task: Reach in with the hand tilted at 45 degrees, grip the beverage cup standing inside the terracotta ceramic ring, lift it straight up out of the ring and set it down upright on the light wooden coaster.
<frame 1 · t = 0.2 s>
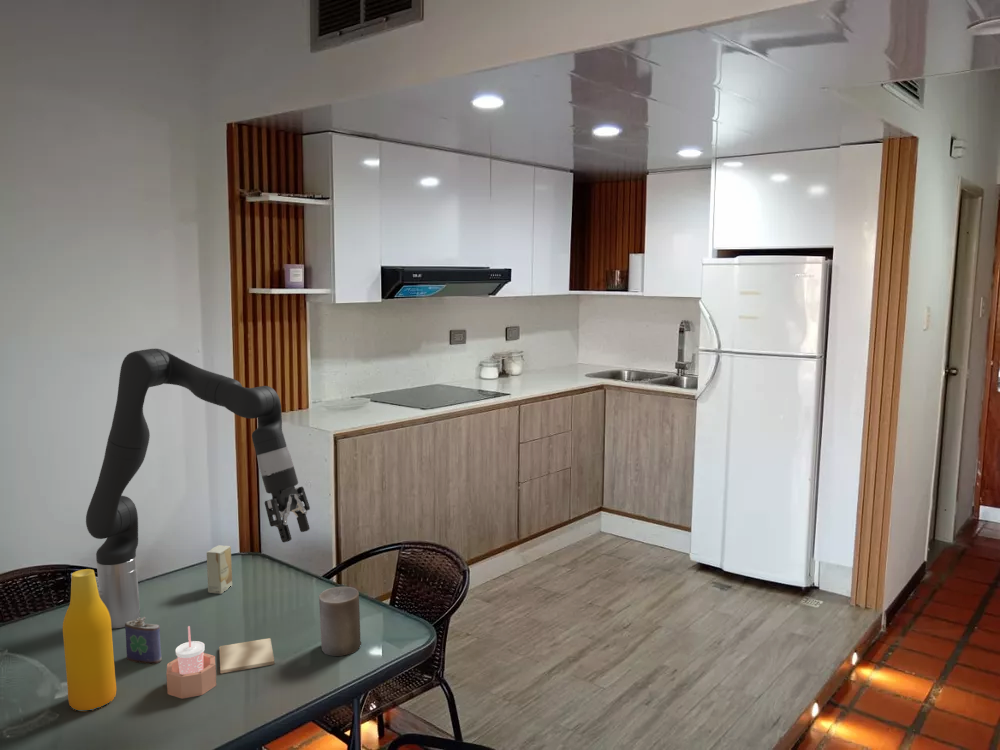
hand: (296, 536, 182), 30 cm above the table, tool tilted 20°, fingers open, 8 cm apart
beverage cup: (192, 686, 174), resting in ceramic ring
skincare box: (220, 589, 225), on the table
pillar candle: (340, 647, 191), on the table
beer bottle: (93, 701, 168), on the table
ceramic ring: (192, 685, 174), on the table
flask: (143, 660, 185), on the table
wooden coaster: (246, 656, 187), on the table
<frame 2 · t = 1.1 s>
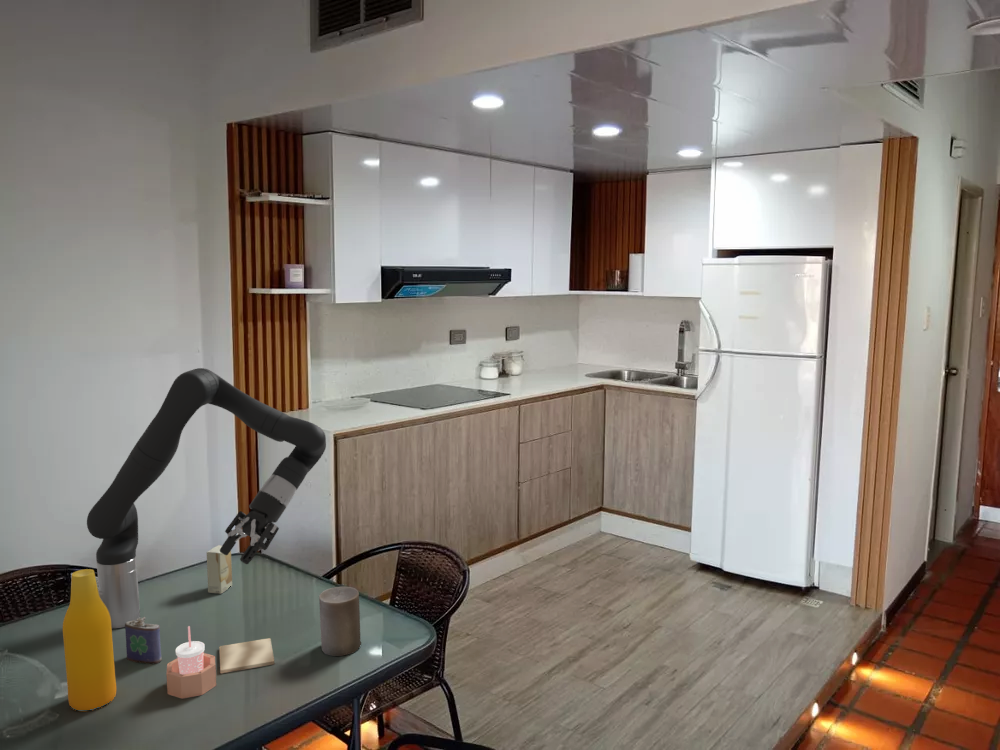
hand: (233, 557, 179), 26 cm above the table, tool tilted 45°, fingers open, 8 cm apart
nothing on the table moved.
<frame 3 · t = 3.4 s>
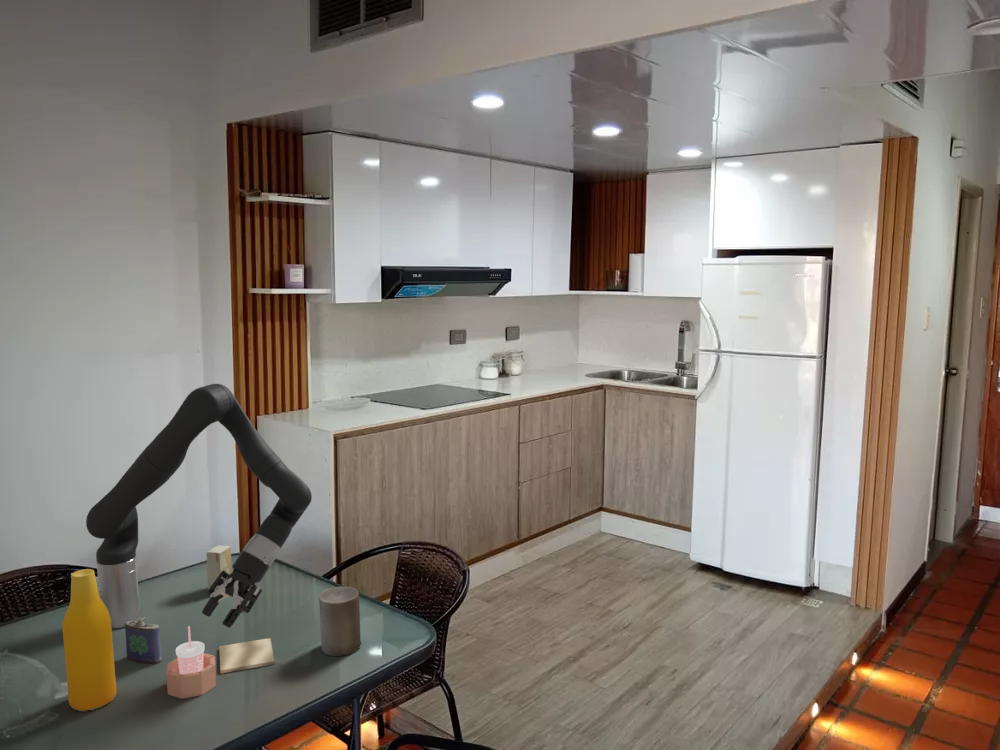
hand: (215, 620, 177), 13 cm above the table, tool tilted 45°, fingers open, 8 cm apart
nothing on the table moved.
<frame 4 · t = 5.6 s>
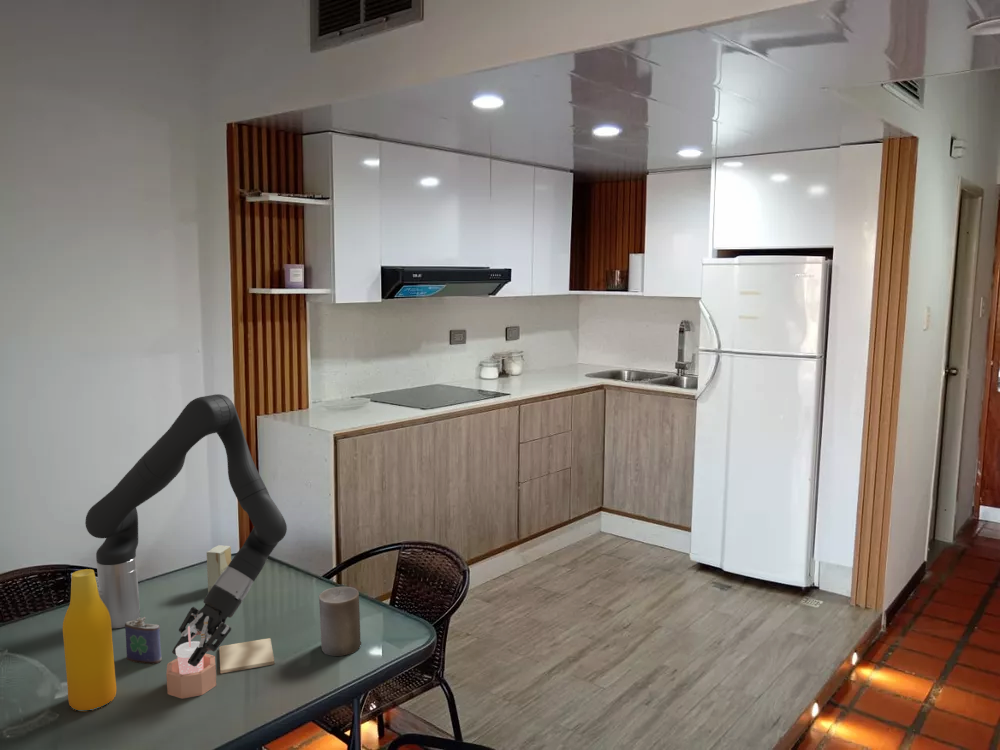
hand: (183, 659, 172), 7 cm above the table, tool tilted 45°, fingers closed on beverage cup, 6 cm apart
beverage cup: (192, 685, 174), resting in ceramic ring, touching gripper
everything else where it was.
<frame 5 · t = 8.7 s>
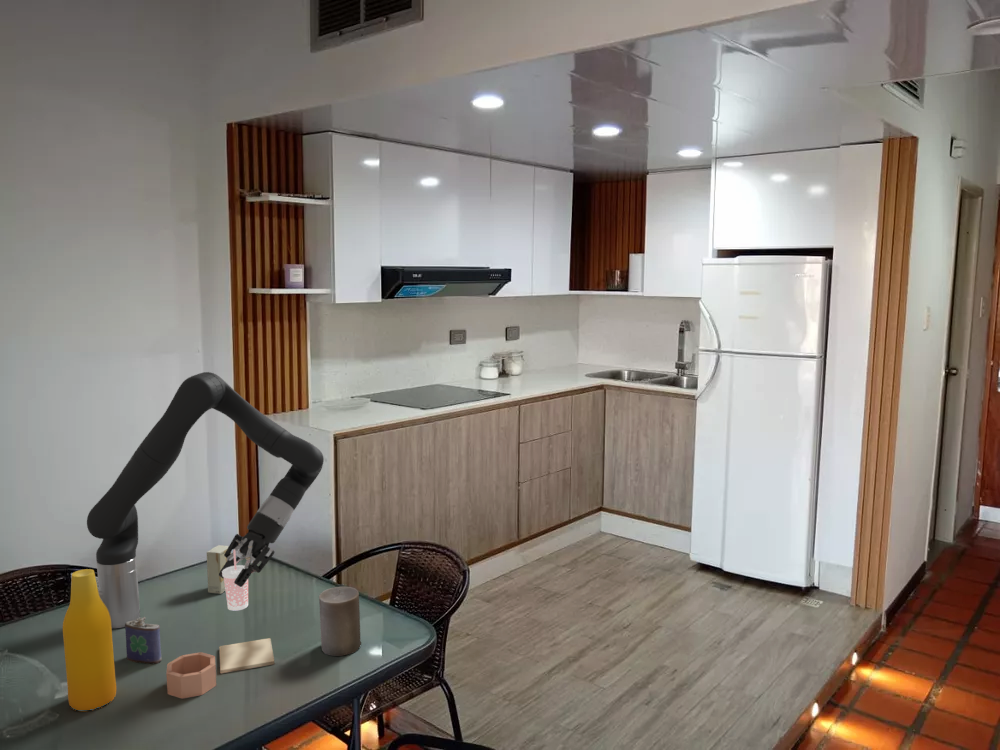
hand: (229, 581, 181), 20 cm above the table, tool tilted 45°, fingers closed on beverage cup, 6 cm apart
beverage cup: (238, 607, 183), point 13 cm above the table, touching gripper
everything else where it was.
when the fingers open (9 cm above the table, at t = 11.6 s): beverage cup drops 1 cm, resting on wooden coaster.
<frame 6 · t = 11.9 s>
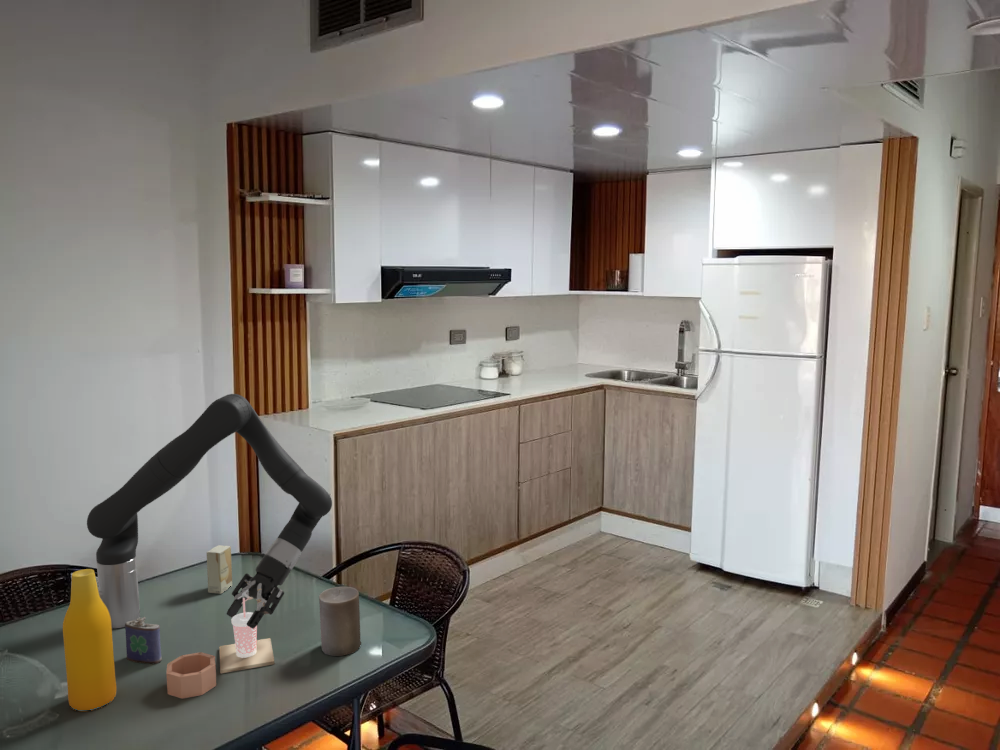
hand: (239, 621, 184), 9 cm above the table, tool tilted 45°, fingers open, 8 cm apart
beverage cup: (246, 653, 187), point 1 cm above the table, touching wooden coaster
everything else where it was.
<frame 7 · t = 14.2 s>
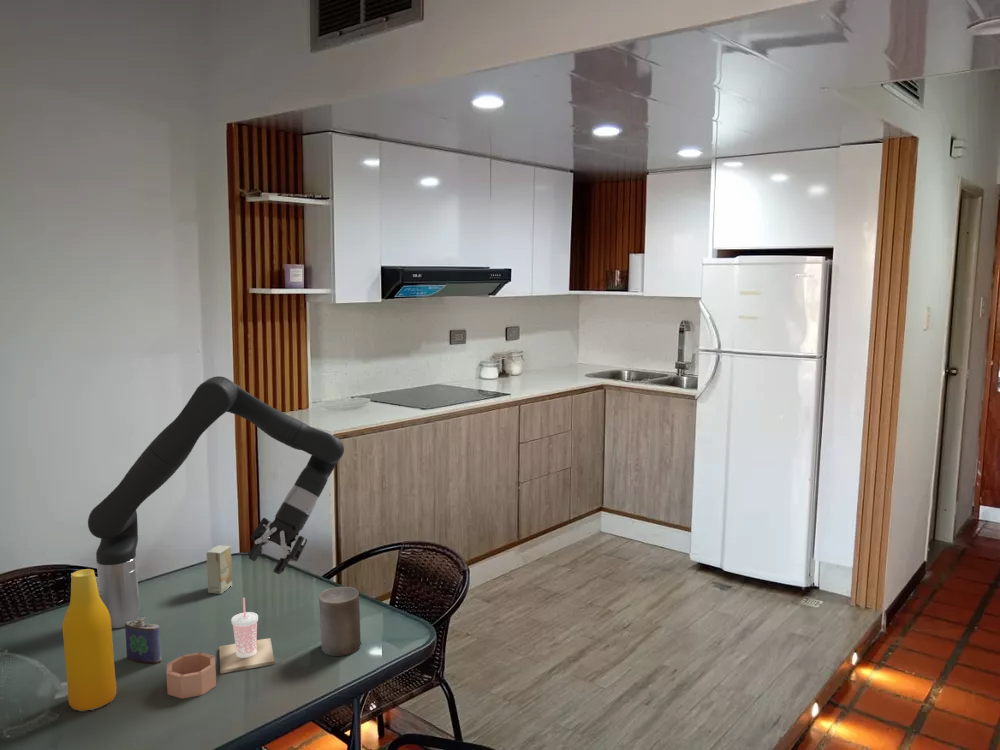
hand: (263, 566, 192), 19 cm above the table, tool tilted 35°, fingers open, 8 cm apart
nothing on the table moved.
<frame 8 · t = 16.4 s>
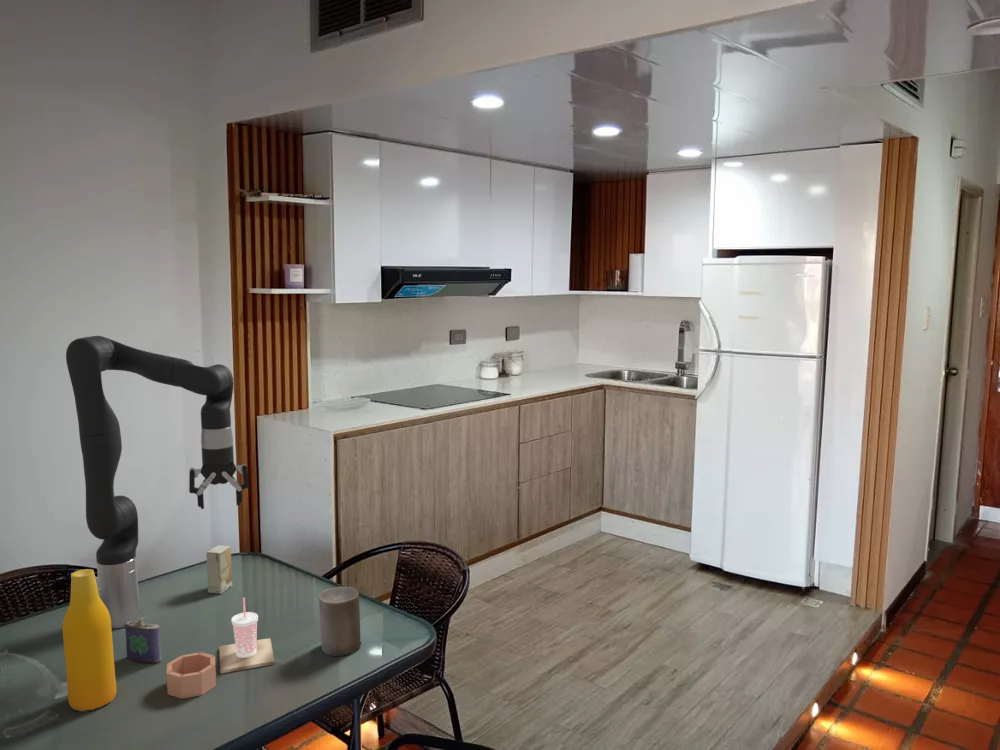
hand: (220, 506, 198), 32 cm above the table, tool pointing down, fingers open, 8 cm apart
nothing on the table moved.
at the end: beverage cup inside the target area on the wooden coaster (0.3 cm from its centre), point 0.6 cm above the wooden coaster's base; beverage cup tilted 0°; beverage cup touching wooden coaster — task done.
